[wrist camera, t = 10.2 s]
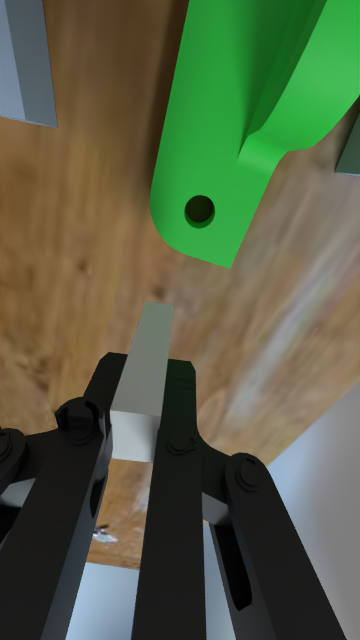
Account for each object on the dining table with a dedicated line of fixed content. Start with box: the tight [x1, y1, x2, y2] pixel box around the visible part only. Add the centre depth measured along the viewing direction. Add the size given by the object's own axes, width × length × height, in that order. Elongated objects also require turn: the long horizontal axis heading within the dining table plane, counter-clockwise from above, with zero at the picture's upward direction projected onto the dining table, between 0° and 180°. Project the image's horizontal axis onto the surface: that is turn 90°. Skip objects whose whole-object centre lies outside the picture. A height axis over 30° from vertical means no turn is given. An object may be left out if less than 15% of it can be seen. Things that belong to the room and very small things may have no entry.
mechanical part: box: [150, 0, 360, 268], centre depth 10 cm, size 12×6×8 cm, turn 163°
